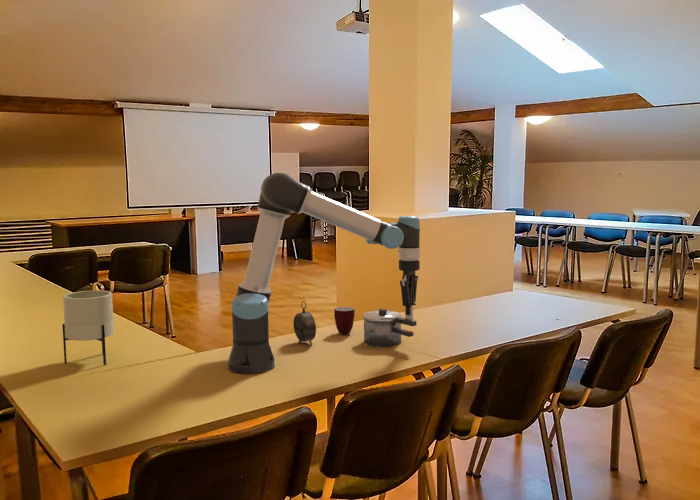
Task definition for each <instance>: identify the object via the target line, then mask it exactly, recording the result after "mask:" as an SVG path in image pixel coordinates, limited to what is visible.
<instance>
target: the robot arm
mask: <svg viewBox="0 0 700 500" xmlns="http://www.w3.org/2000/svg"><path fill="white" fill-rule="evenodd" d="M256 209H257V210H258V212H259V213H260V214H259V218H258V221H257V222H258V223H257V225H256V230H255V234H254V238H253V243H252V247H251V252H250V256H249V259H248V264H247V268H246V273H245V275H244V279H243V281H241V282H240V283H239V284H238V286H237V291H236V294H235V297H234V298H233V299H232V301H231V307H230V309H231V316H232V318H231V319H232V320H231V321H232V323H231V324H232V348H231V350H230V352H229V356H228V360H227V369H228V370H229V371H230V372H232V373H237V374H245V375H246V374H247V375H248V374H249V375H250V374H259V373H265V372H267V371H270V370H272V369H274V368H275V365H276V364H275V356H274V353H273V352H272V348H271V345H270V339H269V338H270V337H269V336H270V333H269V330H270V329H269V328H270V327H269V308H270V306H269V305H270V300H271V296H272V290H271V288H270V280H271V277H272V272H273V269H274V266H275V261H276V258H277V257H276V256H277V252H278V249H279V245H280V240H281V237H282V233H283V229H284V224H285V220H286V219H287V218H289V217H291V214H292V213H295V214H297V215H299V214H303V213H304V214H306V215H308V216H311V217H312V218H314V219H318V220H320V221H322V222H325V223H327V224H330V225H332V226H335V227H337V228H339V229H341V230H344V231H347V232H349V233H352V234H354V235H356V236H358V237H362V238H363V239H365V241H366V243H367V244H370V245H381V246H383V247H384V248H386V249H389V250H390V249H391V250H392V249H393V250H394V249H397V253H398V258H399V260H398V270H399V271H402V278H401V279H402V280H400V281H399V285H400V289H401V300H402V304H401V305H402V307H404V318H406V319H410V320H414V306H416V304H417V303H416V301H417V289H418V280H419V275H416V271H419V270H420V265H421V264H420V263H421V261H420V258H421V249H420V247H421V246H420V241H421V240H420V237H421V234H420V232H421V228H420V227H421V226H420V225H421V224H420V218H419V217H418V216H416V215H415V216H414V215H402V216H399V217H398V220H397V221H395V222H385V221H384V220H380V219H379V218H376V217H374V216H371V215H369V214H367V213H365V212H362V211H359V210H357V209H356V208H353V207H350V206H348V205H346V204H343V203H341V202H339V201H336V200H333V199H332V198H329V197H327V196H325V195H323V194H319V193H317V192H315V191H313V190H312V189H311V187H310V186H309V185H306V184H305V183H302V182H301V181H298V180H297V179H295V178H294V177H292V176H291V175H289V174H287V173H284V172H274V173H270V174H268V176H266V177H265V179H263V181H262V184H261V187H260V194H259V198H258V202H257V207H256Z"/></svg>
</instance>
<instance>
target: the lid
mask: <svg viewBox="0 0 700 500" xmlns="http://www.w3.org/2000/svg"><path fill="white" fill-rule="evenodd" d="M362 318H363V320H364V319H365V320H367V321H371V322H396V323H400V324H401V325H405V326H409V327H416V326H417V320H414V319H413V320H410V319H406V318H405V317H403V314H402V313H401V312H398V311H393V310H388V309H387V308H379V309H378V310H371V311H366V312H364V313H363V317H362Z"/></svg>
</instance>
